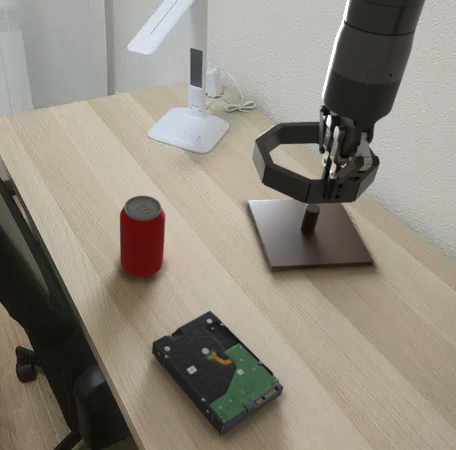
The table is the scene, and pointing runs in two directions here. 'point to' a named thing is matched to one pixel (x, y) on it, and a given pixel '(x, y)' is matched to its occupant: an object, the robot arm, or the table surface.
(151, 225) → the beverage can
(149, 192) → the table surface
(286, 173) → the ring
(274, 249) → the stand
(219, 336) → the disk drive
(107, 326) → the table surface
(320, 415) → the table surface
